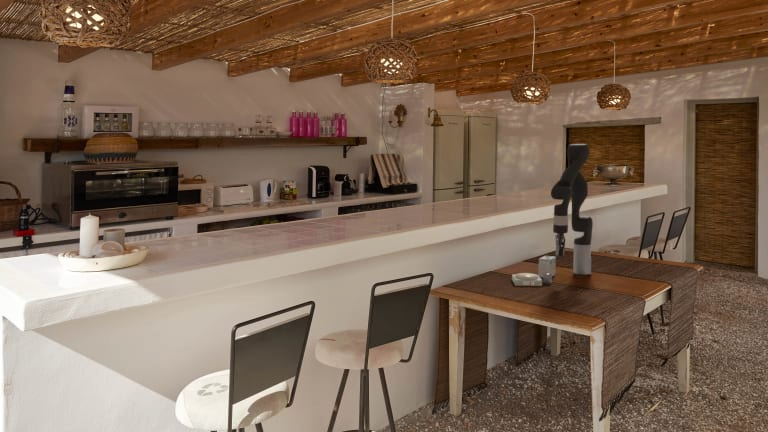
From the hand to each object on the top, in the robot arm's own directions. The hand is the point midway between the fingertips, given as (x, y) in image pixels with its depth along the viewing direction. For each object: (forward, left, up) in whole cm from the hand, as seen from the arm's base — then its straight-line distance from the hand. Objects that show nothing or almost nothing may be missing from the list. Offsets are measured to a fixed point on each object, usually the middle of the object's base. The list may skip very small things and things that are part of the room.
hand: (559, 255), depth 316 cm
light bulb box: (+3, -18, -15) cm, 24 cm away
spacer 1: (+6, 0, -15) cm, 17 cm away
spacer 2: (0, 0, 0) cm, 0 cm away
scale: (+17, 0, -15) cm, 23 cm away
